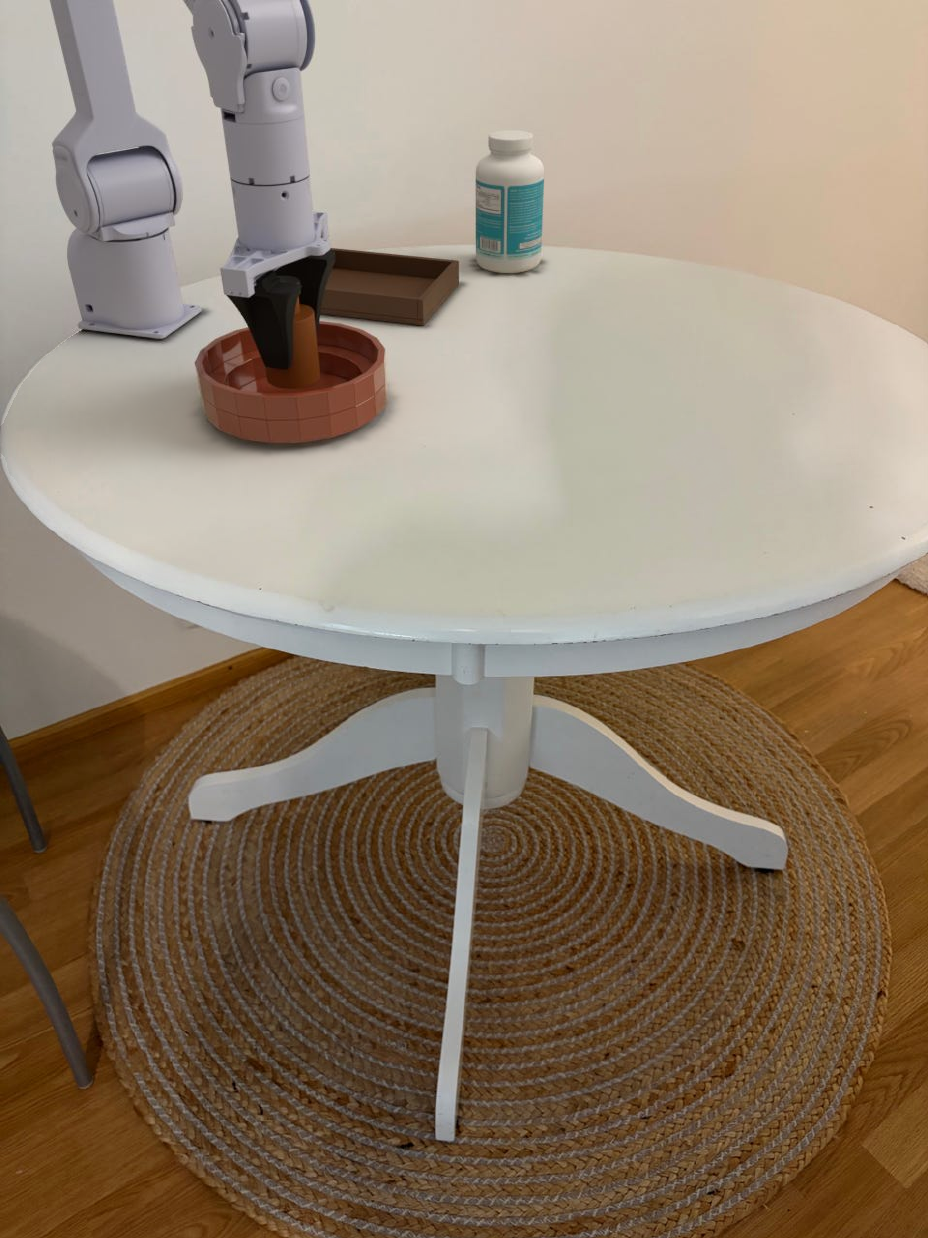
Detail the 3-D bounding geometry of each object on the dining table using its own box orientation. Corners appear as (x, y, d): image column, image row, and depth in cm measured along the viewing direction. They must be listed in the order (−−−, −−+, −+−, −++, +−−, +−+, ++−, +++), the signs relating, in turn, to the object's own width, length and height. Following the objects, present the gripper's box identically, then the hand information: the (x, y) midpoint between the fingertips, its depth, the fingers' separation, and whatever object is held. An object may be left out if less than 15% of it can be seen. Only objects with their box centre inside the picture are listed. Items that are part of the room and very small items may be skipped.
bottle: (257, 385, 78) (243, 287, 73) (280, 363, 81) (269, 268, 76) (307, 392, 77) (296, 293, 72) (328, 370, 80) (320, 274, 75)
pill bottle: (541, 255, 111) (548, 127, 103) (539, 276, 105) (545, 143, 97) (477, 252, 112) (479, 125, 103) (472, 274, 106) (472, 141, 98)
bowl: (170, 434, 76) (159, 382, 74) (255, 360, 88) (248, 312, 85) (347, 461, 73) (342, 407, 70) (411, 380, 84) (410, 331, 82)
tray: (282, 309, 98) (279, 283, 96) (329, 270, 107) (327, 247, 105) (423, 325, 94) (422, 299, 93) (459, 284, 103) (459, 260, 102)
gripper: (277, 207, 63) (299, 398, 71) (358, 156, 74) (368, 327, 82) (181, 198, 64) (214, 386, 73) (275, 149, 75) (293, 317, 84)
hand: (290, 354), depth 78 cm, fingers closed on bottle, 4 cm apart
